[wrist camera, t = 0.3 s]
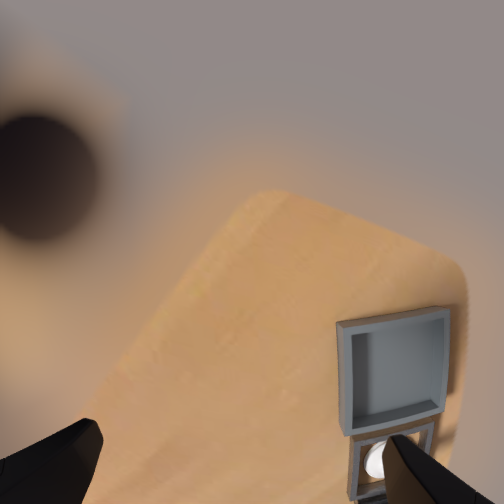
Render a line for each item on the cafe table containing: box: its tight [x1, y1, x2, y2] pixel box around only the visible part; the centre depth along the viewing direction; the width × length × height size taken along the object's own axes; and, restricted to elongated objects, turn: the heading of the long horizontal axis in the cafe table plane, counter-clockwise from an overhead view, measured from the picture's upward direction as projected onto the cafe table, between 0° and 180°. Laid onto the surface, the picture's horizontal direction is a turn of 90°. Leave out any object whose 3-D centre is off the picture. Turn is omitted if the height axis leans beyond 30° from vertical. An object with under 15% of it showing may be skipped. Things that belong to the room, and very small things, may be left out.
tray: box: [336, 306, 450, 436], centre depth 21 cm, size 9×9×2 cm
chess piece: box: [363, 441, 387, 478], centre depth 17 cm, size 5×5×10 cm
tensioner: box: [347, 416, 435, 504], centre depth 20 cm, size 15×8×4 cm, turn 5°
